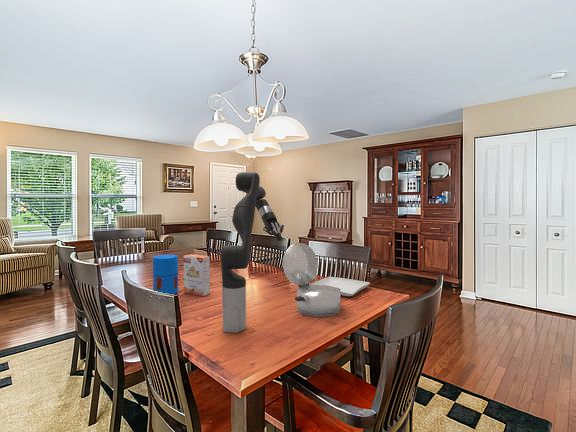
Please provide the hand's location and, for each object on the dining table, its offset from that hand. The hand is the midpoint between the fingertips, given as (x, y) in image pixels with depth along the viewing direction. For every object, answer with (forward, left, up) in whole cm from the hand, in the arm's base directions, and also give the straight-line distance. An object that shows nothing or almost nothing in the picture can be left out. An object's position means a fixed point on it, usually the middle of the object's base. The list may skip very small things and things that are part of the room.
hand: (280, 240), depth 165 cm
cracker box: (-1, +46, -30) cm, 55 cm away
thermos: (-27, +49, -30) cm, 64 cm away
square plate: (+20, -31, -31) cm, 48 cm away
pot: (-15, -21, -30) cm, 40 cm away
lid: (-6, -12, -11) cm, 17 cm away
